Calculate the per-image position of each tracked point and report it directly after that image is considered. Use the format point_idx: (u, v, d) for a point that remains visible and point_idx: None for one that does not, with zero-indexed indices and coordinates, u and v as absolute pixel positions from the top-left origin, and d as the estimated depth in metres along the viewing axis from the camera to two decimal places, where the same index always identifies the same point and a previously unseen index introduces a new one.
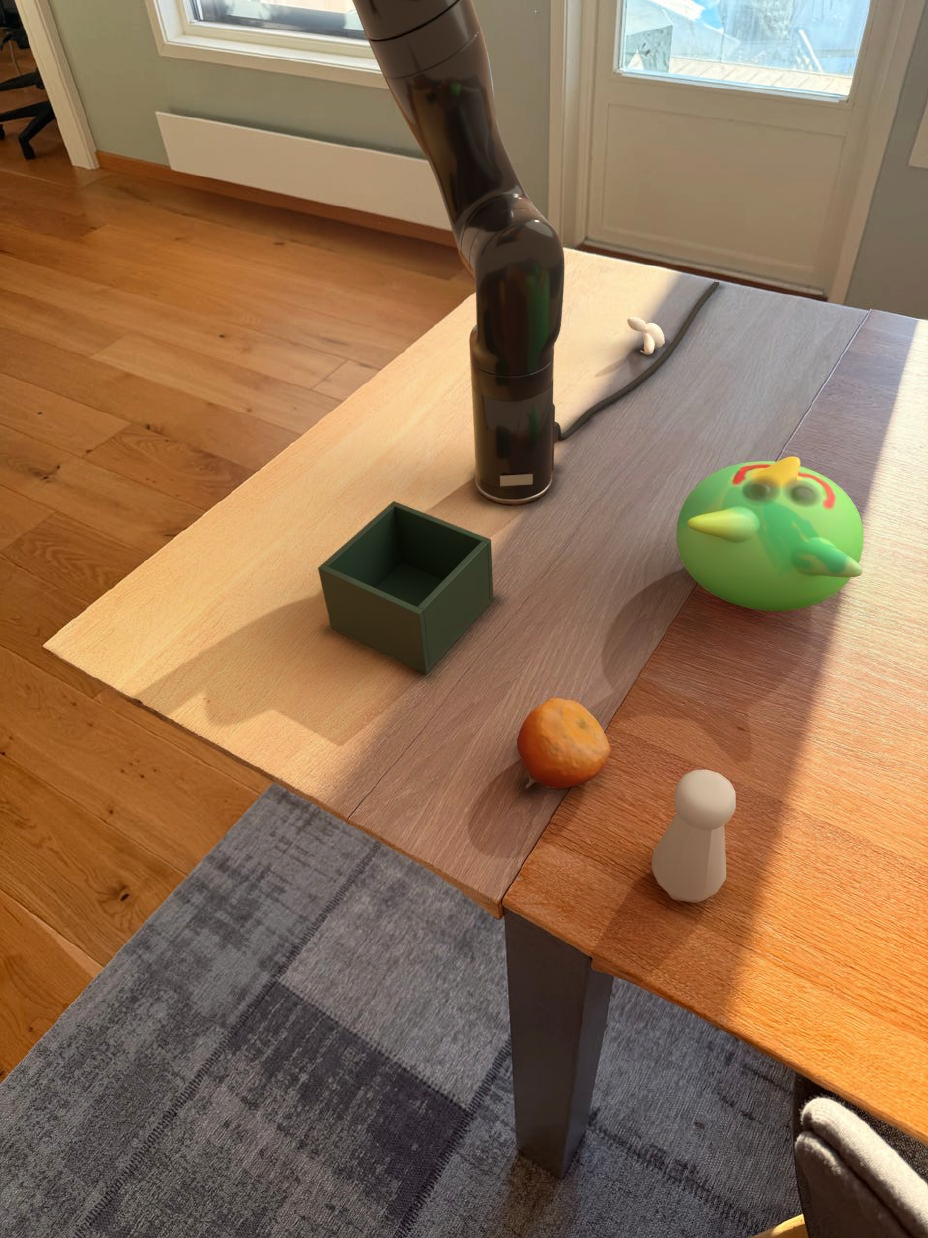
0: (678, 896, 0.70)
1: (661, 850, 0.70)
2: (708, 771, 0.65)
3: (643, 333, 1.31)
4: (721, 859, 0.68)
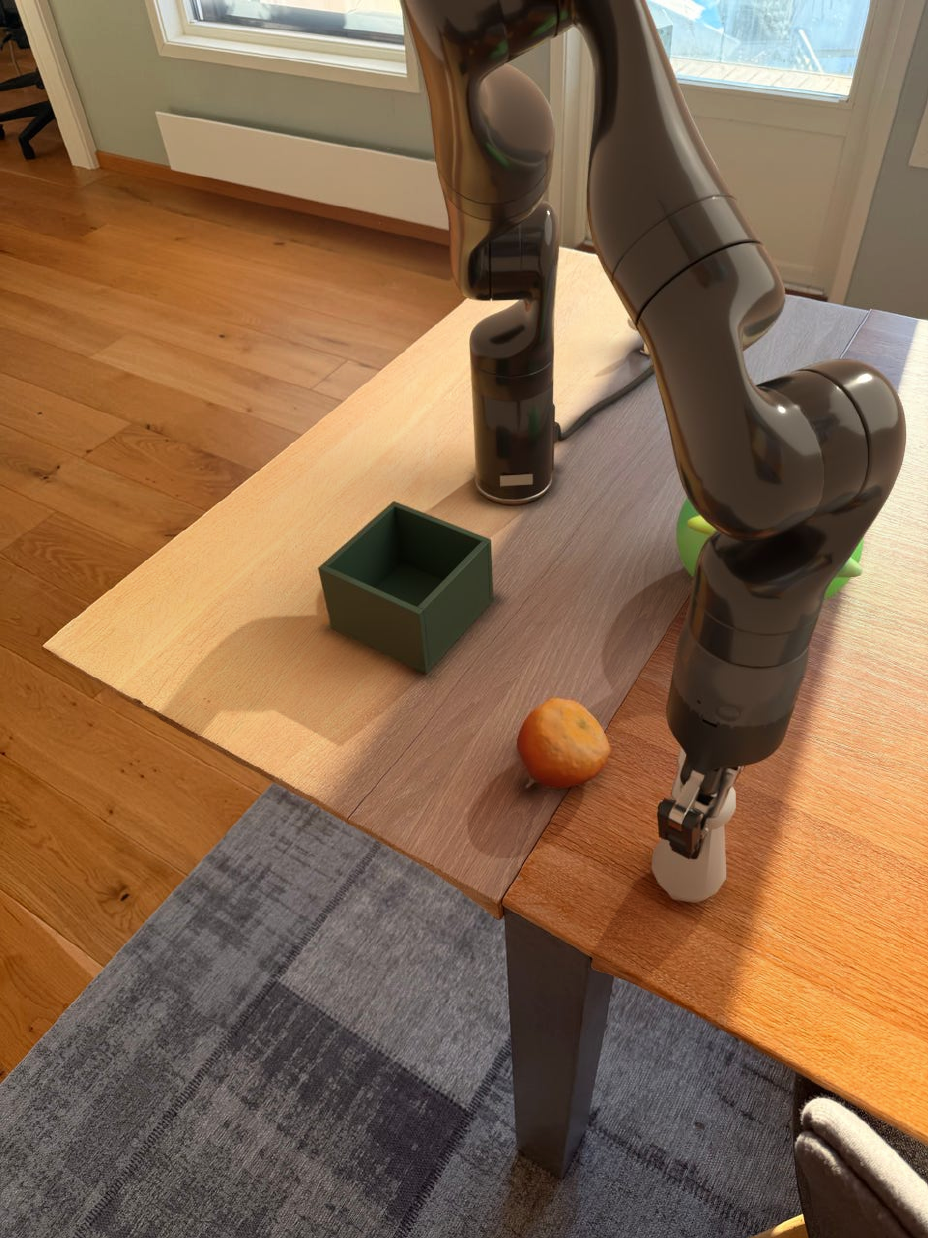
0: (678, 896, 0.70)
1: (661, 850, 0.70)
2: None
3: None
4: (721, 859, 0.68)
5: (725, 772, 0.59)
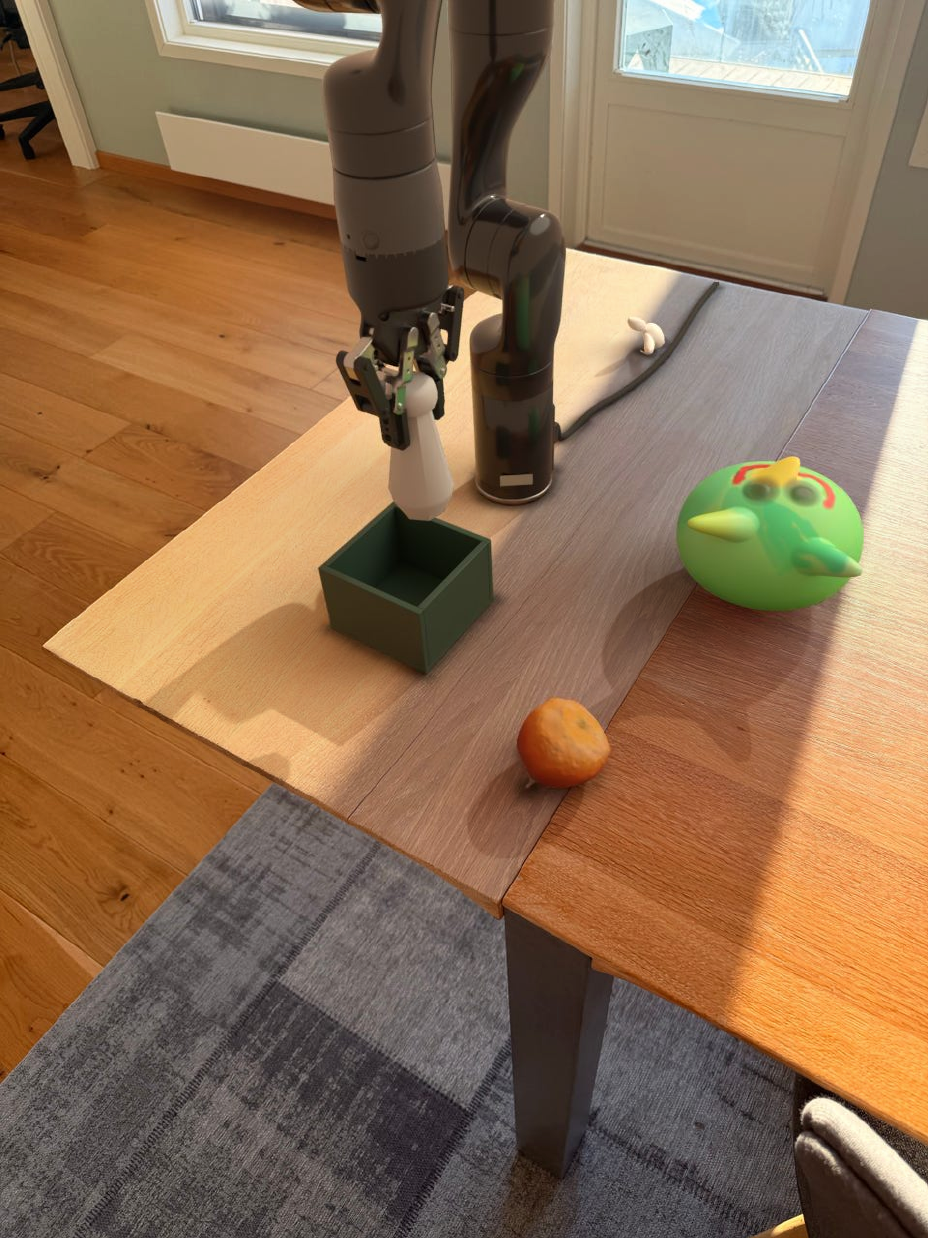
0: (406, 505, 0.79)
1: (390, 463, 0.78)
2: (415, 371, 0.74)
3: (643, 333, 1.31)
4: (438, 463, 0.77)
5: (401, 334, 0.67)
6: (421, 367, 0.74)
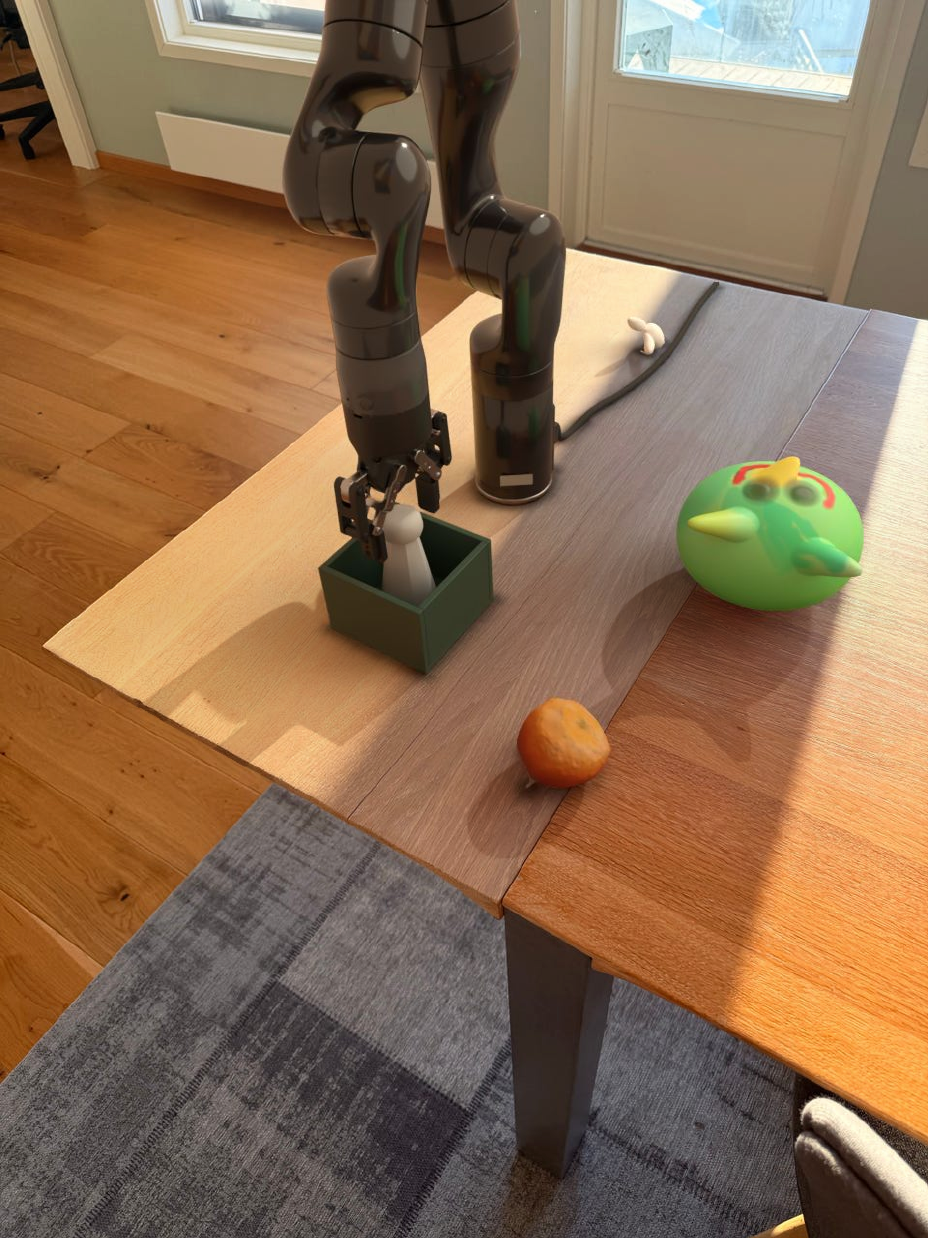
0: None
1: (383, 576, 0.92)
2: (404, 504, 0.88)
3: (643, 333, 1.31)
4: (423, 578, 0.91)
5: (392, 470, 0.80)
6: (420, 473, 0.88)
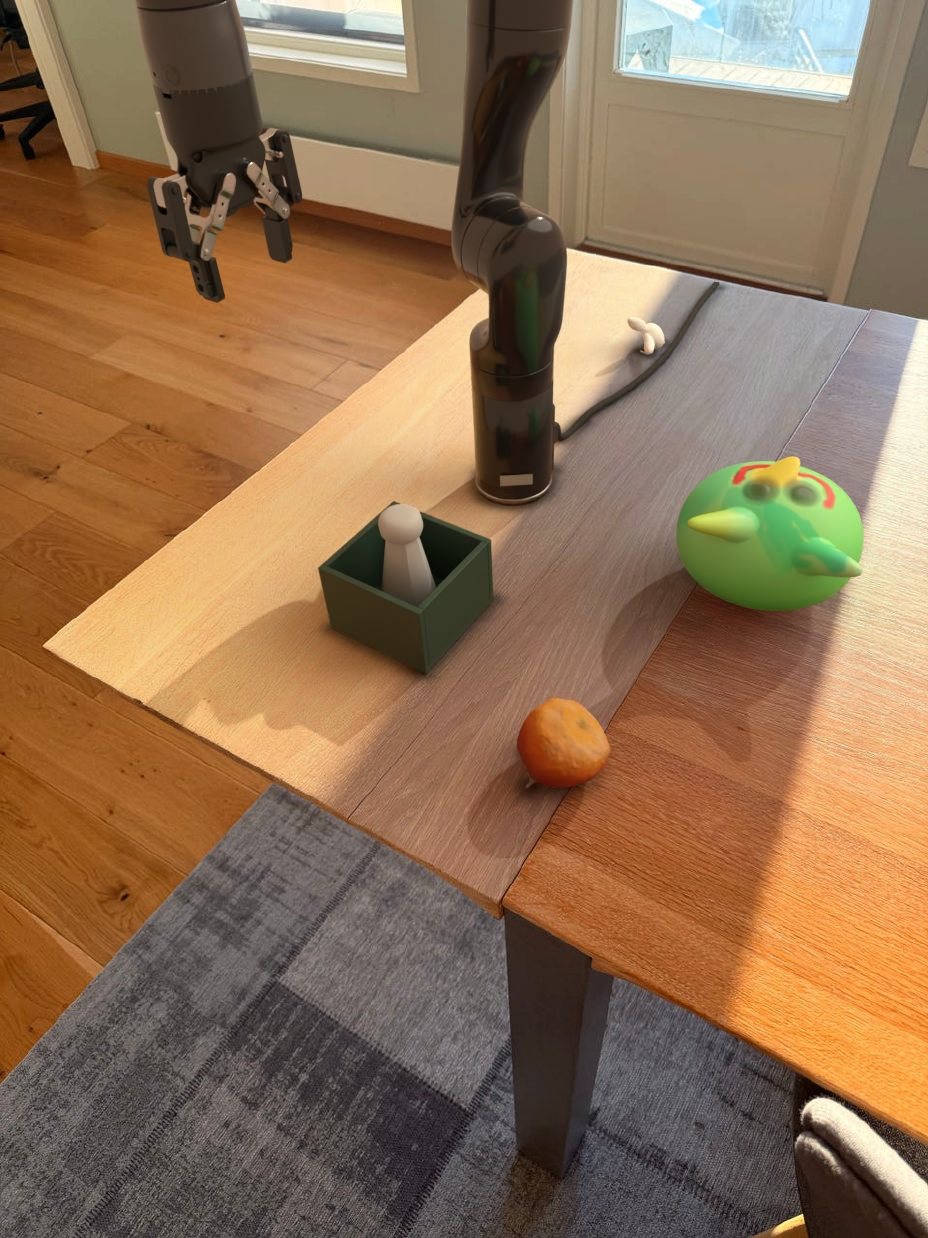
0: None
1: (383, 576, 0.92)
2: (404, 504, 0.88)
3: (643, 333, 1.31)
4: (423, 578, 0.91)
5: (218, 179, 0.71)
6: (266, 210, 0.79)
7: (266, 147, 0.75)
